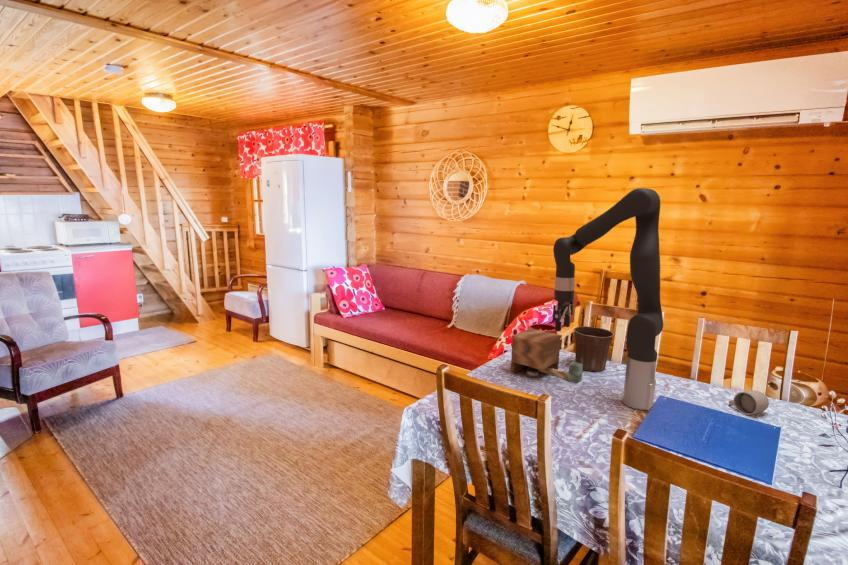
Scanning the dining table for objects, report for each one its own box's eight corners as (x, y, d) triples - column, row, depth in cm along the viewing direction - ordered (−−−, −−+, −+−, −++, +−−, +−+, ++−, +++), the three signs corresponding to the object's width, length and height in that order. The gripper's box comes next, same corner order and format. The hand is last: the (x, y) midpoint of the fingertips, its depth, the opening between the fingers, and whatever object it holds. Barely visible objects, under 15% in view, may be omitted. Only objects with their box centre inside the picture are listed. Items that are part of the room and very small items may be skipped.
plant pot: (616, 367, 194) (620, 331, 192) (601, 377, 183) (605, 339, 180) (580, 358, 205) (583, 324, 203) (564, 366, 194) (567, 330, 191)
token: (540, 376, 183) (540, 370, 183) (534, 379, 179) (535, 373, 179) (529, 372, 186) (529, 367, 186) (523, 376, 182) (524, 370, 182)
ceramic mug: (769, 414, 152) (772, 393, 151) (755, 418, 149) (758, 397, 148) (736, 402, 162) (739, 382, 160) (722, 406, 158) (725, 385, 157)
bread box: (558, 371, 188) (561, 335, 185) (541, 383, 175) (544, 343, 173) (527, 363, 197) (529, 328, 194) (508, 373, 185) (510, 336, 182)
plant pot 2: (538, 344, 224) (539, 321, 222) (561, 351, 214) (562, 327, 212) (521, 349, 216) (523, 325, 214) (544, 356, 206) (546, 331, 204)
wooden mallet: (581, 380, 179) (582, 363, 177) (577, 383, 176) (579, 366, 174) (531, 367, 193) (532, 351, 191) (526, 369, 190) (527, 353, 188)
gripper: (566, 292, 167) (564, 334, 169) (580, 287, 177) (578, 326, 180) (547, 289, 171) (545, 330, 174) (562, 285, 182) (560, 323, 185)
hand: (562, 328), depth 177 cm, fingers open, 8 cm apart
